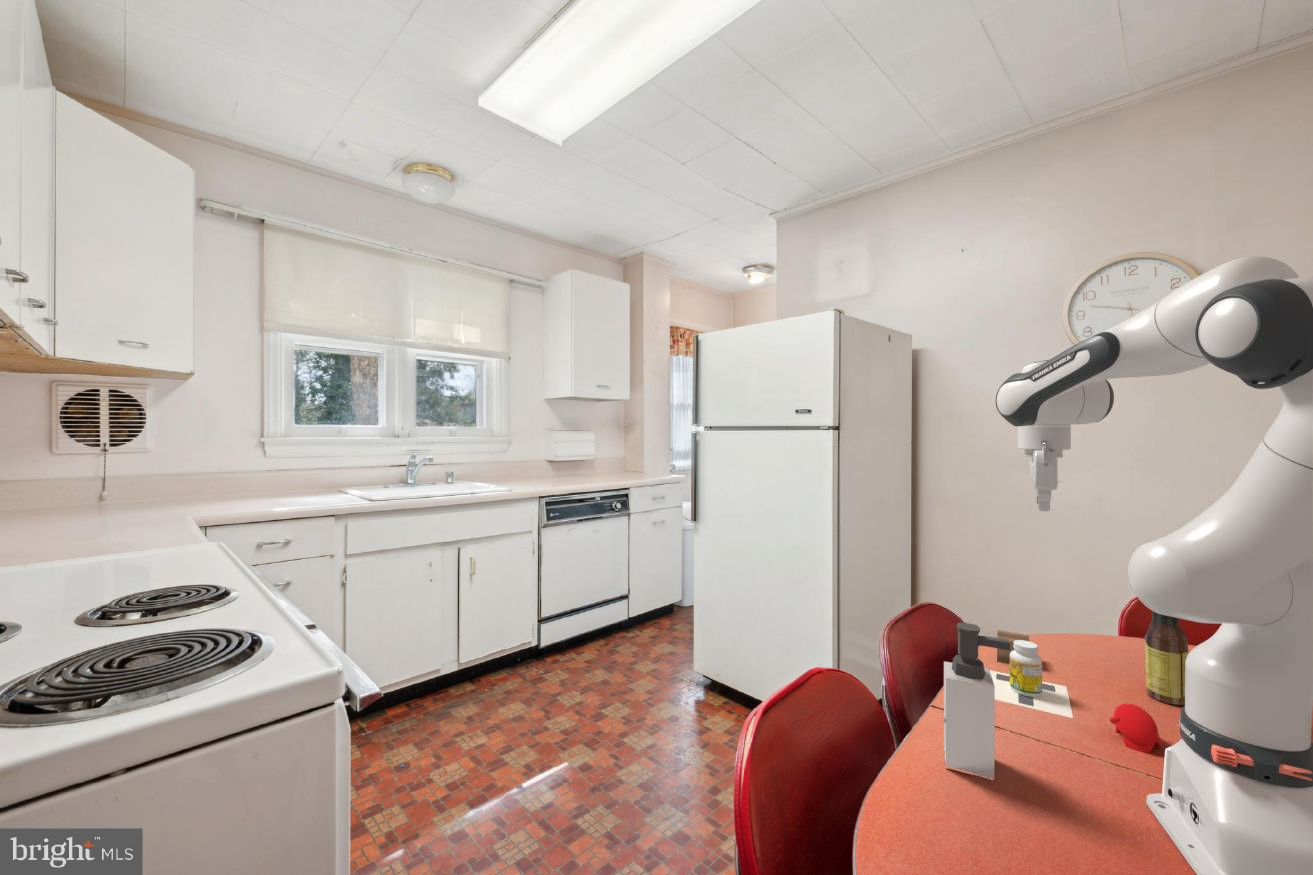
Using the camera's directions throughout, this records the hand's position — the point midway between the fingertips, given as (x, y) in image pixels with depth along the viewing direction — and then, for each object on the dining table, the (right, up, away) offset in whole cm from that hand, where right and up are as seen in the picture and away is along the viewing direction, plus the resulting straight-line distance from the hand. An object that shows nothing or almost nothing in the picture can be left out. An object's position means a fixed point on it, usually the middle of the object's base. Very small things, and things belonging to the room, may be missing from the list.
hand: (1043, 507), depth 108 cm
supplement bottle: (-5, -37, -3) cm, 37 cm away
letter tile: (-6, -37, -3) cm, 38 cm away
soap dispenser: (-29, -38, -24) cm, 53 cm away
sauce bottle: (+21, -37, -5) cm, 43 cm away
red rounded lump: (+1, -38, -19) cm, 42 cm away
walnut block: (+2, -37, +12) cm, 39 cm away
